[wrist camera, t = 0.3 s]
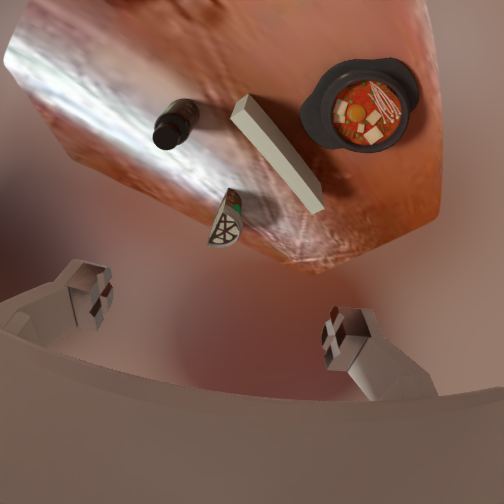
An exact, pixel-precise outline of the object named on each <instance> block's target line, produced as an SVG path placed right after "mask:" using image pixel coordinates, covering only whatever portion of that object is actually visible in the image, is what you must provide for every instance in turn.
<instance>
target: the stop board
mask: <svg viewBox="0 0 504 504" xmlns="http://www.w3.org/2000/svg"><path fill="white" fill-rule="evenodd" d="M230 119H231V120H232V121H233V122H234V124H235V125H236V126H237V127H238V128H239V129H240V130H241V131H242V132H243V133H244V135H245V136H246V137H247V138H248V139H249V140H250V141H251V142H252V144H253V145H254V146H255V147H256V148H257V149H258V150H259V151H260V153H261V154H262V155H263V156H264V157H265V158H266V160H267V161H268V162H269V163H270V164H271V165H272V166H273V168H274V169H275V170H276V171H277V172H278V174H279V175H280V176H281V177H282V178H283V179H284V181H285V182H286V183H287V184H288V185H289V187H290V188H291V189H292V190H293V192H294V193H295V194H296V195H297V196H298V198H299V199H300V200H301V201H302V203H303V204H304V205H305V206H306V208H307V209H308V210H309V211H310V213H311V214H314V213H316V212H319V211H321V210H323V209H325V207H324V201H323V194H322V188H321V183H320V182H319V180H318V179H317V178H316V176H315V175H314V174H313V172H312V171H311V170H310V168H309V167H308V166H307V164H306V163H305V162H304V160H303V159H302V158H301V156H300V155H299V154H298V152H297V151H296V150H295V149H294V147H293V146H292V145H291V143H290V142H289V141H288V140H287V138H286V137H285V136H284V135H283V133H282V132H281V131H280V130H279V128H278V127H277V126H276V125H275V124H274V122H273V121H272V120H271V119H270V117H269V116H268V115H267V114H266V113H265V112H264V110H263V109H262V108H261V107H260V106H259V104H258V103H257V102H256V101H255V100H254V99H253V98H252V96H251V95H250V94H247V95H246V96H244V97H243V98H242V99H240V100H239V101H237V103H236V105H235V108H234V110H233V113H232V115H231V118H230Z"/></svg>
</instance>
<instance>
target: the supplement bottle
mask: <svg viewBox="0 0 504 504" xmlns="http://www.w3.org/2000/svg"><path fill="white" fill-rule="evenodd" d="M198 119H199V110H198V107H197V106H196V105H195V104H194V103H193V102H192V101H190V100H187V99H179V100H176V101H174V102H173V103H171V104H170V105H169V106H168V108H167V109H166V110H165V111H164V112H163V113H162V114H161V115H160V116H159V118H158V119H157V120H156V122H155V126H154V133H153V142H154V143H155V144H156V146H157V147H158V148H160V149H162V150H170V149H173V148H175V147H176V146H177V145H180V144H182V143H183V142H185V141H186V140H187V138H188V137H189V135H190V133H191V132H192V130H193V128H194V127H195V125H196V123H197V122H198Z"/></svg>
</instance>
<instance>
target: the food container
mask: <svg viewBox="0 0 504 504" xmlns="http://www.w3.org/2000/svg"><path fill="white" fill-rule="evenodd" d="M241 206H242V202H241V199H240V197H239V195H238V194H237V193H236V192H235V191H233V190H232V189H230V188H228V189H227V191H226V193H225V195H224V197H223V199H222V201H221V204H220V206H219V208H218V210H217V212H216V214H215V217H214V221H213V224H212V228H211V231H210V235H209V239H208V241H207V246H210V247H216V248H218V247H219V248H221V247H226V246H229V245H231V244H233V243H234V242H235V241H236V240H237V239H238V238H239V236H240V234H241V232H242V230H243V221H242V219H241Z"/></svg>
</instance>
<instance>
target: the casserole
mask: <svg viewBox="0 0 504 504" xmlns="http://www.w3.org/2000/svg"><path fill="white" fill-rule="evenodd" d="M418 101H419V92H418V86H417V83H416V81H415V78H414V76H413V75H412V73H411V72H410V70H409V69H408V68H407V67H406V66H405V65H404V64H403V63H402V62H400V61H399V60H397V59H394V58H384V59H376V60H364V59H354V60H348V61H344V62H342V63H339V64H337V65H335V66H334V67H332V68H331V69H329V70H328V71H327V72H326V73H325V74H324V75H323V76H322V77H321V79H320V81H319V83H318V84H317V86H316V88H315V89H314V91H313V93H312V94H311V95H310V96H309V97H308V98H307V99H306V101H305V102H304V103H303V104H302V106H301V109H300V120H301V122H302V125H303V127H304V129H305V131H306V132H307V134H308V135H309V136H310V137H311V139H312V140H313V141H315V142H316V143H317V144H319V145H320V146H322V147H324V148H326V149H338V148H345V149H348V150H351V151H354V152H360V153H375V152H380V151H383V150H385V149H388V148H389V147H391V146H392V145H394V144H395V143H396V142H397V141H398V140H399V139H400V138H401V137H402V135H403V134H404V132H405V130H406V128H407V125H408V121H409V118H410V113H411V112H412V111H413V110H414V109H415V108H416V106H417V104H418Z"/></svg>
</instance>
